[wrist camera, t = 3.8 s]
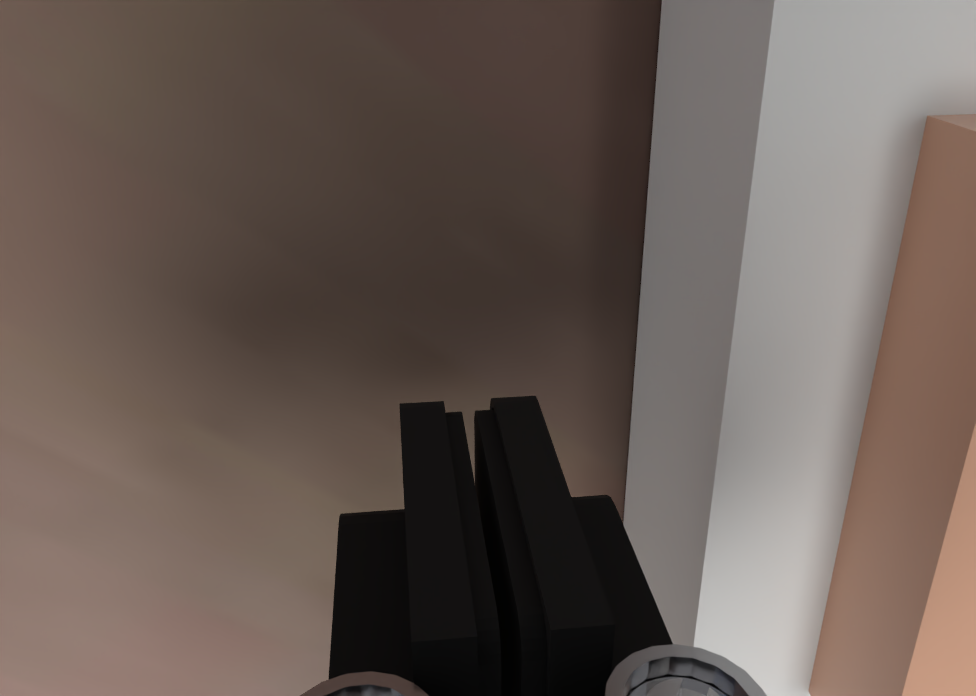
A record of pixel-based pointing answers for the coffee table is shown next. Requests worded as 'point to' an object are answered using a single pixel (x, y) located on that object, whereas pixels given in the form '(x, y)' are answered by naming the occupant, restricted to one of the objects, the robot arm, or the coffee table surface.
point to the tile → (916, 458)
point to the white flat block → (771, 299)
